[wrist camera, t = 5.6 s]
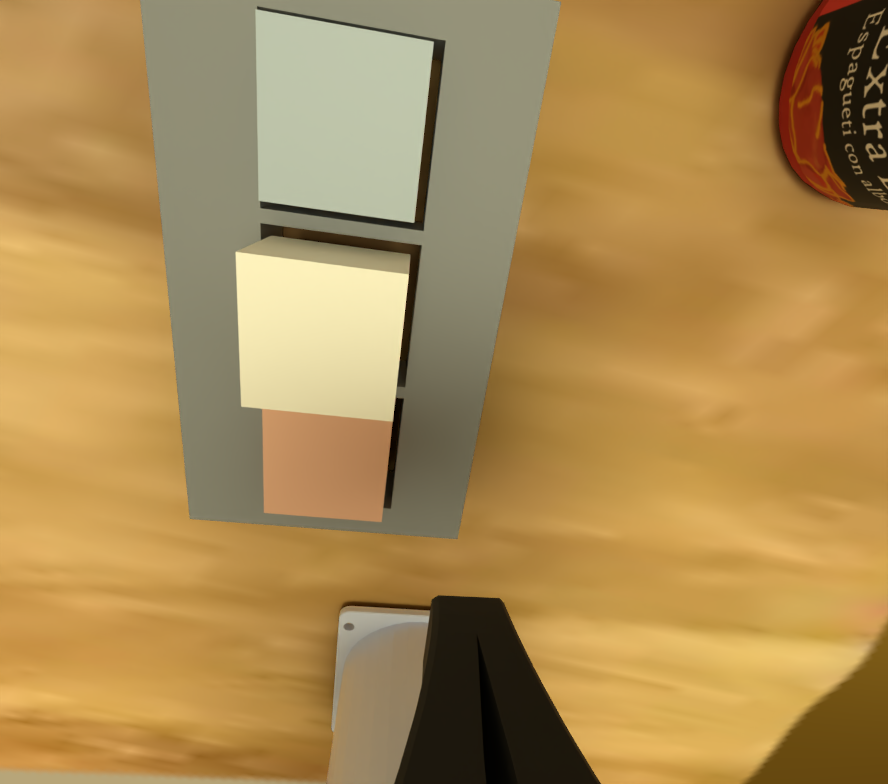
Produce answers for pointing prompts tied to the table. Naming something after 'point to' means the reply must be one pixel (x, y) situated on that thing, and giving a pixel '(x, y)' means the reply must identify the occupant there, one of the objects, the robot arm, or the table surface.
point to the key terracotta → (324, 465)
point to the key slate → (340, 116)
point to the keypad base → (439, 235)
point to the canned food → (840, 103)
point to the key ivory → (320, 327)
